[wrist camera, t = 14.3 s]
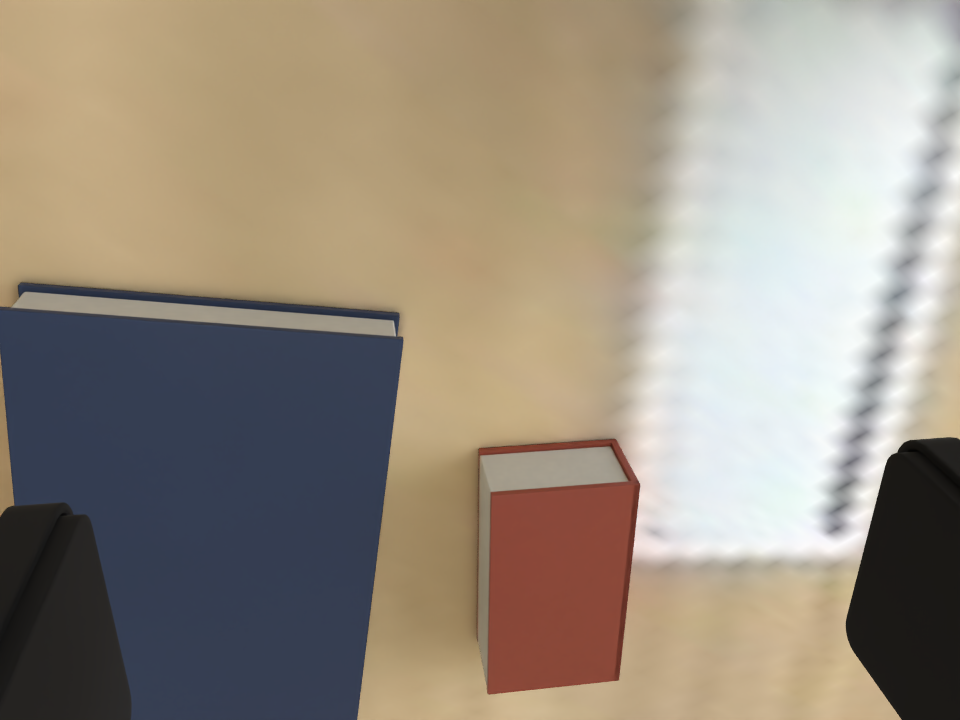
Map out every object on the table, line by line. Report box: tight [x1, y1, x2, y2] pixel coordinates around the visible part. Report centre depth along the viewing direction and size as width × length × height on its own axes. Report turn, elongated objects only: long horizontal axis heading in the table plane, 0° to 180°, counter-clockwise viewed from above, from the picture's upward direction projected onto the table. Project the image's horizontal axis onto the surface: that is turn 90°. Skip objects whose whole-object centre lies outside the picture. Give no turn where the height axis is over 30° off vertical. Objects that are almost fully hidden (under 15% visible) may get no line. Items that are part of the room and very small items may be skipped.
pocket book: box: [477, 439, 640, 694], centre depth 40 cm, size 6×11×4 cm, turn 179°
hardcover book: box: [0, 283, 403, 720], centre depth 37 cm, size 14×20×3 cm
